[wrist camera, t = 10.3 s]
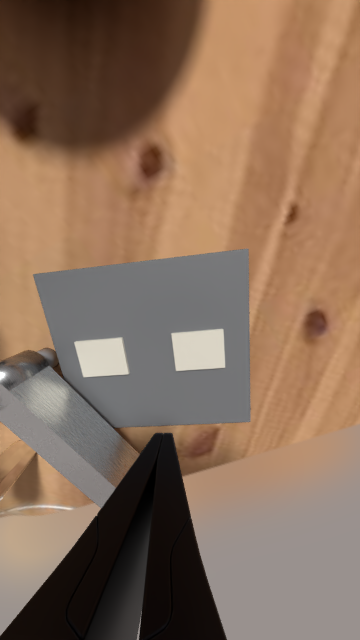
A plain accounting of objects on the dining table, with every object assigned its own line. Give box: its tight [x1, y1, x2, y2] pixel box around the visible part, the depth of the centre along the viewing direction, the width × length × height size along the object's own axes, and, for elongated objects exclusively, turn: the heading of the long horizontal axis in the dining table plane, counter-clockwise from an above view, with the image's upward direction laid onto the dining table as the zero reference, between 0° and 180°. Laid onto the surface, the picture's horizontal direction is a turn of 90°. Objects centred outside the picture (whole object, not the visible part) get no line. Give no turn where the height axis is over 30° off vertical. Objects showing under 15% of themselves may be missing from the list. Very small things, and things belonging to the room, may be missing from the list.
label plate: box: [33, 249, 250, 428], centre depth 18 cm, size 23×18×2 cm
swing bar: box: [0, 350, 140, 508], centre depth 17 cm, size 22×4×4 cm, turn 38°
